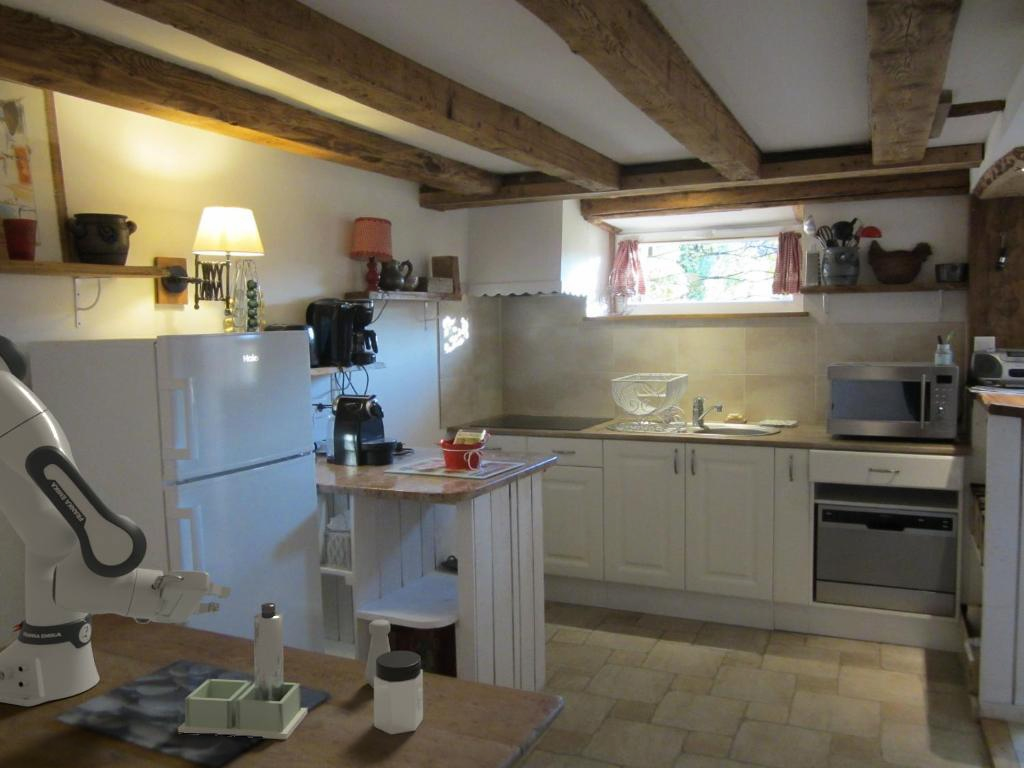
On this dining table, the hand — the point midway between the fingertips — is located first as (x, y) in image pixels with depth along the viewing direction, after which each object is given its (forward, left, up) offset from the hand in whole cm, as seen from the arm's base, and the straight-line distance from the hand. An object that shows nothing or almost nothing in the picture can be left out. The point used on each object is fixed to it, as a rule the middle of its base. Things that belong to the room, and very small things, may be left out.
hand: (224, 600), depth 157 cm
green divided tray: (+9, -10, -19) cm, 23 cm away
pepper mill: (+13, -10, -18) cm, 25 cm away
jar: (+37, -7, -19) cm, 42 cm away
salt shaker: (+29, +9, -19) cm, 36 cm away
